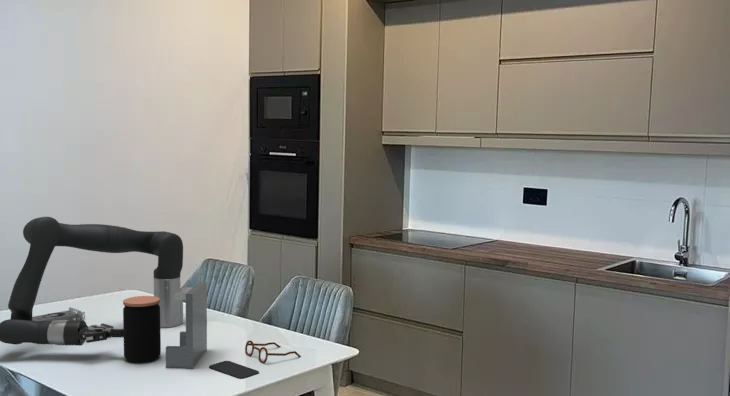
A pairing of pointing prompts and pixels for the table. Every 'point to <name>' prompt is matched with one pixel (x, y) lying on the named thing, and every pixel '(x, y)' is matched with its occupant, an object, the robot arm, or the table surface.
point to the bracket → (191, 329)
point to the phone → (233, 369)
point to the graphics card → (61, 316)
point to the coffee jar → (141, 329)
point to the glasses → (265, 350)
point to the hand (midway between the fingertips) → (124, 333)
